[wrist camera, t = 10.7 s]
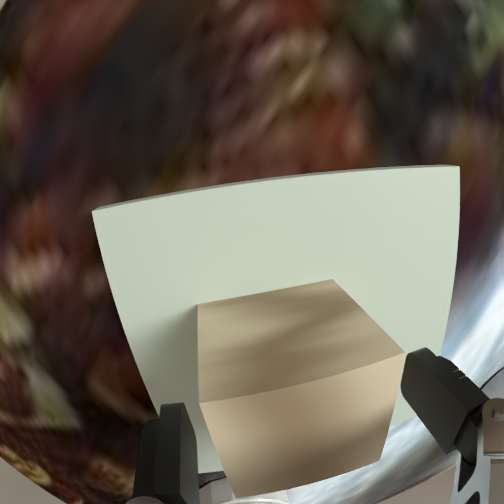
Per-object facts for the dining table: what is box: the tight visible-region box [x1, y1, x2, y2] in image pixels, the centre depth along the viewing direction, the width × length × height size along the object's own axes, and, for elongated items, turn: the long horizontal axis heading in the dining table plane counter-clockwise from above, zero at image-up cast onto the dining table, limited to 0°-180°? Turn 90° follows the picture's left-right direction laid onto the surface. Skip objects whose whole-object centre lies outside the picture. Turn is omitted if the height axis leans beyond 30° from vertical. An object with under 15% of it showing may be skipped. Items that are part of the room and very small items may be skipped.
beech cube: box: [198, 279, 405, 499], centre depth 11 cm, size 6×6×6 cm
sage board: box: [92, 165, 460, 473], centre depth 14 cm, size 16×16×1 cm
